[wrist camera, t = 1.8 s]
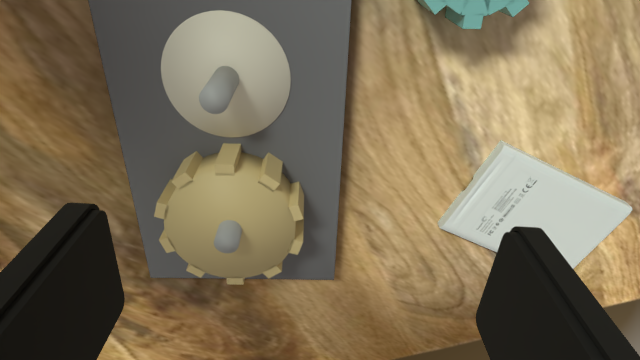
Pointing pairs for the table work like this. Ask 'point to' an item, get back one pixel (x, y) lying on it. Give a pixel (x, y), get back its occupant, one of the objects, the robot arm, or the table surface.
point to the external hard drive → (533, 205)
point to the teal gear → (473, 10)
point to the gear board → (230, 131)
